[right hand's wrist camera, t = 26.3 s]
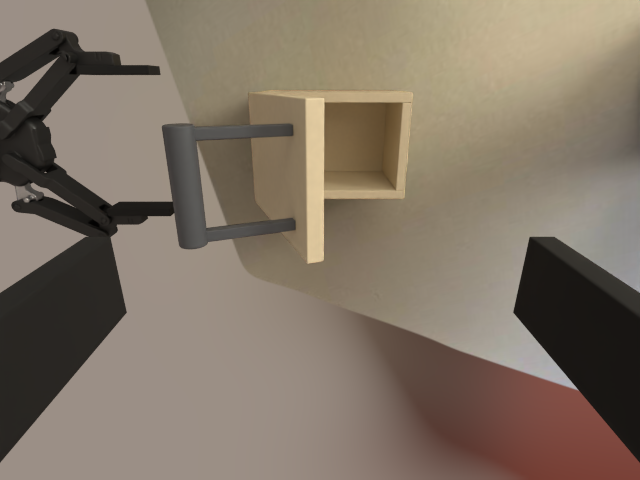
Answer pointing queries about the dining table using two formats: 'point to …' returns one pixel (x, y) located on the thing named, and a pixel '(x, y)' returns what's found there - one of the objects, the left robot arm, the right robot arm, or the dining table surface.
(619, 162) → the dining table surface
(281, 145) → the lid
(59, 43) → the left robot arm
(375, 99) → the chest
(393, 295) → the dining table surface
